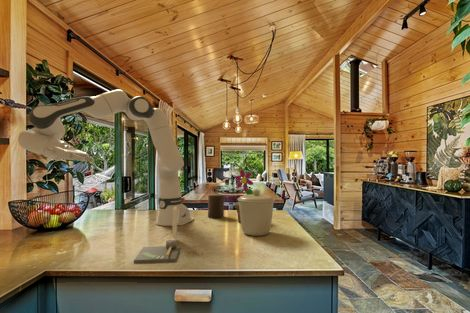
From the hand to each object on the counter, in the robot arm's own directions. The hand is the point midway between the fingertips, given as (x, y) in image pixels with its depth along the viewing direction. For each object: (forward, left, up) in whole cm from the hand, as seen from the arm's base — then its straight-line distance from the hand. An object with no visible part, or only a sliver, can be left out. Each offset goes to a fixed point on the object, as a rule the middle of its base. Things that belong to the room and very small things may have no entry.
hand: (88, 160), depth 121 cm
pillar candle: (-68, +23, -35) cm, 79 cm away
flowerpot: (-65, +46, -35) cm, 87 cm away
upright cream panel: (-8, +41, -33) cm, 53 cm away
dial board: (0, +42, -35) cm, 54 cm away
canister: (-46, +60, -35) cm, 83 cm away
